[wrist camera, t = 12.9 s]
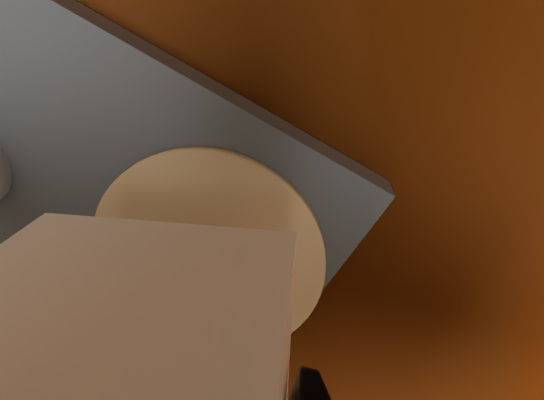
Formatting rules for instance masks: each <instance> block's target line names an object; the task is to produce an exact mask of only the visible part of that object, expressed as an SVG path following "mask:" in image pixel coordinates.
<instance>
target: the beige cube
mask: <svg viewBox="0 0 544 400" xmlns="http://www.w3.org/2000/svg"><path fill="white" fill-rule="evenodd" d="M296 237H297V232H290V231H277V230H264V229H251V228H238V227H225V226H212V225H199V224H186V223H173V222H160V221H147V220H133V219H120V218H107V217H94V216H81V215H68V214H55V213H44V214H43V215H41V216H40V217H38V218H37V219H36V220H34V221H33V222H31V223H30V224H28V225H27V226H26V227H24V228H23V229H21V230H20V231H18V232H17V233H15V234H14V235H13V236H11V237H10V238H8V239H7V240H5V241H4V242H2V243H1V244H0V400H287V396H288V378H289V360H290V343H291V325H292V307H293V290H294V272H295V254H296Z"/></svg>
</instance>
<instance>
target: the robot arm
mask: <svg viewBox="0 0 544 400" xmlns="http://www.w3.org/2000/svg"><path fill="white" fill-rule="evenodd" d="M289 400H331V398H330V396H329V393H328V391H327V389H326V386H325V384H324V382H323V380H322V377H321V375H320V373H319V371H317V370H316V369H312V368H308V367H304V366H301V367H300V368H299V369H298V371H297V374H296V377H295V380H294V383H293V386H292V389H291V393H290V397H289Z"/></svg>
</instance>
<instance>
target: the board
mask: <svg viewBox="0 0 544 400" xmlns="http://www.w3.org/2000/svg"><path fill="white" fill-rule="evenodd" d="M395 197H396V196H395V194H394V192H393V189H392V187H391V184H390V182H389V180H387V179H386V178H384V177H382V176H381V175H379V174H377V173H375V172H374V171H372V170H370V169H368V168H367V167H365V166H363V165H361V164H360V163H358V162H356V161H354V160H353V159H351V158H349V157H347V156H346V155H344V154H342V153H340V152H339V151H337V150H335V149H334V148H332V147H330V146H328V145H327V144H325V143H323V142H321V141H320V140H318V139H316V138H314V137H313V136H311V135H309V134H307V133H306V132H304V131H302V130H300V129H299V128H297V127H295V126H293V125H292V124H290V123H288V122H287V121H285V120H283V119H281V118H280V117H278V116H276V115H274V114H273V113H271V112H269V111H267V110H266V109H264V108H262V107H260V106H259V105H257V104H255V103H253V102H252V101H250V100H248V99H246V98H245V97H243V96H241V95H239V94H238V93H236V92H234V91H233V90H231V89H229V88H227V87H226V86H224V85H222V84H220V83H219V82H217V81H215V80H213V79H212V78H210V77H208V76H206V75H205V74H203V73H201V72H199V71H198V70H196V69H194V68H192V67H191V66H189V65H187V64H186V63H184V62H182V61H180V60H179V59H177V58H175V57H173V56H172V55H170V54H168V53H166V52H165V51H163V50H161V49H159V48H158V47H156V46H154V45H152V44H151V43H149V42H147V41H145V40H144V39H142V38H140V37H138V36H137V35H135V34H133V33H132V32H130V31H128V30H126V29H125V28H123V27H121V26H119V25H118V24H116V23H114V22H112V21H111V20H109V19H107V18H105V17H104V16H102V15H100V14H98V13H97V12H95V11H93V10H91V9H90V8H88V7H86V6H85V5H83V4H81V3H79V2H78V1H76V0H0V244H1V243H2V242H4V241H5V240H7V239H8V238H10V237H11V236H13V235H14V234H15V233H17V232H18V231H20V230H21V229H23V228H24V227H26V226H27V225H28V224H30V223H31V222H33V221H34V220H36V219H37V218H38V217H40V216H41V215H43V214H44V213H55V214H68V215H81V216H94V217H107V218H120V219H133V220H147V221H160V222H173V223H186V224H199V225H212V226H225V227H238V228H251V229H264V230H277V231H290V232H297V237H296V254H295V272H294V290H293V307H292V325H291V333H292V332H294V331H295V330H296V329H297V328H299V327H300V326H301V325H302V324H303V322H304V321H305V320H306V319H307V318H308V317H309V316H310V314H311V313H312V311H313V310H314V308H315V306H316V304H317V302H318V300H319V298H320V296H321V292H322V291H323V290H324V288H325V287H326V286H327V284H328V283H329V282H330V281H331V279H332V278H333V277H334V275H335V274H336V273H337V272H338V270H339V269H340V268H341V266H342V265H343V264H344V263H345V261H346V260H347V259H348V257H349V256H350V255H351V254H352V252H353V251H354V250H355V248H356V247H357V246H358V244H359V243H360V242H361V241H362V239H363V238H364V237H365V235H366V234H367V233H368V232H369V230H370V229H371V228H372V226H373V225H374V224H375V223H376V221H377V220H378V219H379V217H380V216H381V215H382V214H383V212H384V211H385V210H386V208H387V207H388V206H389V205H390V203H391V202H392V201H393V199H394V198H395Z"/></svg>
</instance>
